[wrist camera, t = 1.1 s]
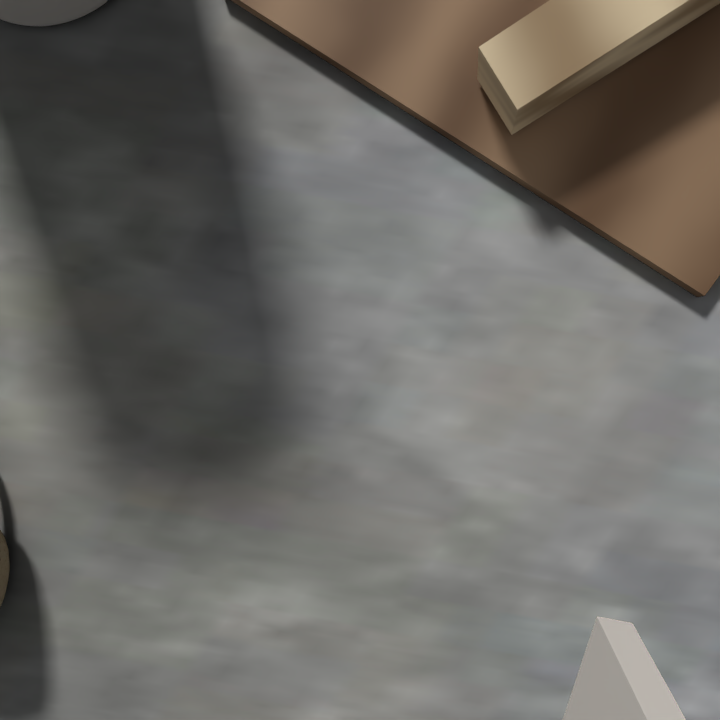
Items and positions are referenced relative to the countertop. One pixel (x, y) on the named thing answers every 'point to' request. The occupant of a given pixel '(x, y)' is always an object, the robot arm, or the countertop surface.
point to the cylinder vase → (46, 11)
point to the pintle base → (551, 117)
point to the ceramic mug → (3, 567)
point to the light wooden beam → (572, 50)
